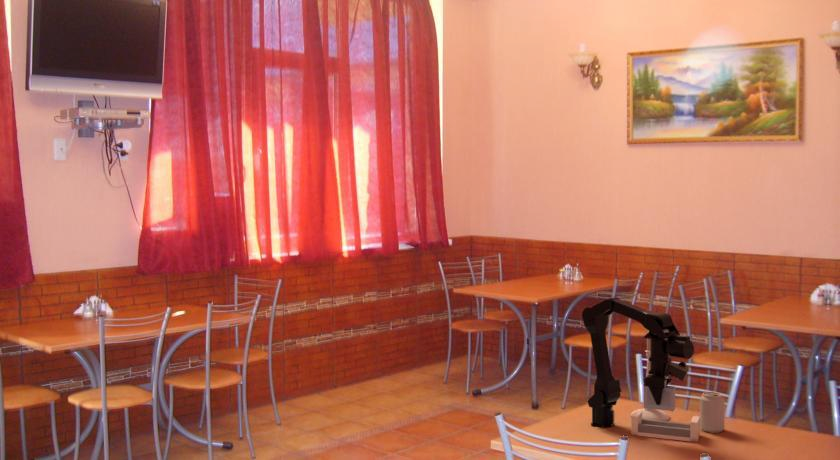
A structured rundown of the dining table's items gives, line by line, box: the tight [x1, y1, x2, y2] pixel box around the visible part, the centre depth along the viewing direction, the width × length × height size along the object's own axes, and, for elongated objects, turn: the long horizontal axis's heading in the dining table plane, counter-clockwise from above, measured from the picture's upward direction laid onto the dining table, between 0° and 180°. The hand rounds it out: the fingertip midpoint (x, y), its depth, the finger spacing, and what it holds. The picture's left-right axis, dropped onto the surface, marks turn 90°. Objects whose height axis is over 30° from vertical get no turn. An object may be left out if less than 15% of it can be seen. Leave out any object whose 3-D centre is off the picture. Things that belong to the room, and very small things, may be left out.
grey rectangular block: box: [643, 385, 676, 412], centre depth 259 cm, size 9×3×7 cm, turn 63°
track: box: [630, 409, 701, 443], centre depth 264 cm, size 20×8×6 cm, turn 65°
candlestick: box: [630, 330, 670, 422], centre depth 284 cm, size 13×13×30 cm
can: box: [699, 391, 726, 434], centre depth 269 cm, size 8×8×12 cm
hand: (659, 403), depth 260 cm, fingers closed on grey rectangular block, 3 cm apart
